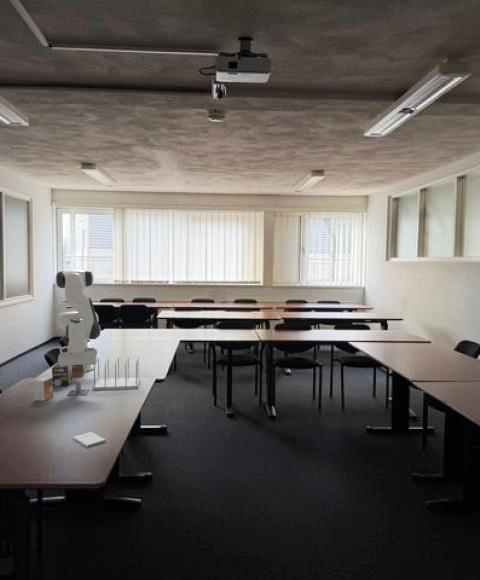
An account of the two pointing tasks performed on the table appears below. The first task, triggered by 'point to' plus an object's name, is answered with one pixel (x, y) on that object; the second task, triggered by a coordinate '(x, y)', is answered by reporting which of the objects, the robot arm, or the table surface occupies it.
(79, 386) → the grey square peg stand
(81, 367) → the cardboard cube
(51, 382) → the small box
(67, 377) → the chalk box
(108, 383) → the file sorter
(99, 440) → the external hard drive
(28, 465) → the table surface
